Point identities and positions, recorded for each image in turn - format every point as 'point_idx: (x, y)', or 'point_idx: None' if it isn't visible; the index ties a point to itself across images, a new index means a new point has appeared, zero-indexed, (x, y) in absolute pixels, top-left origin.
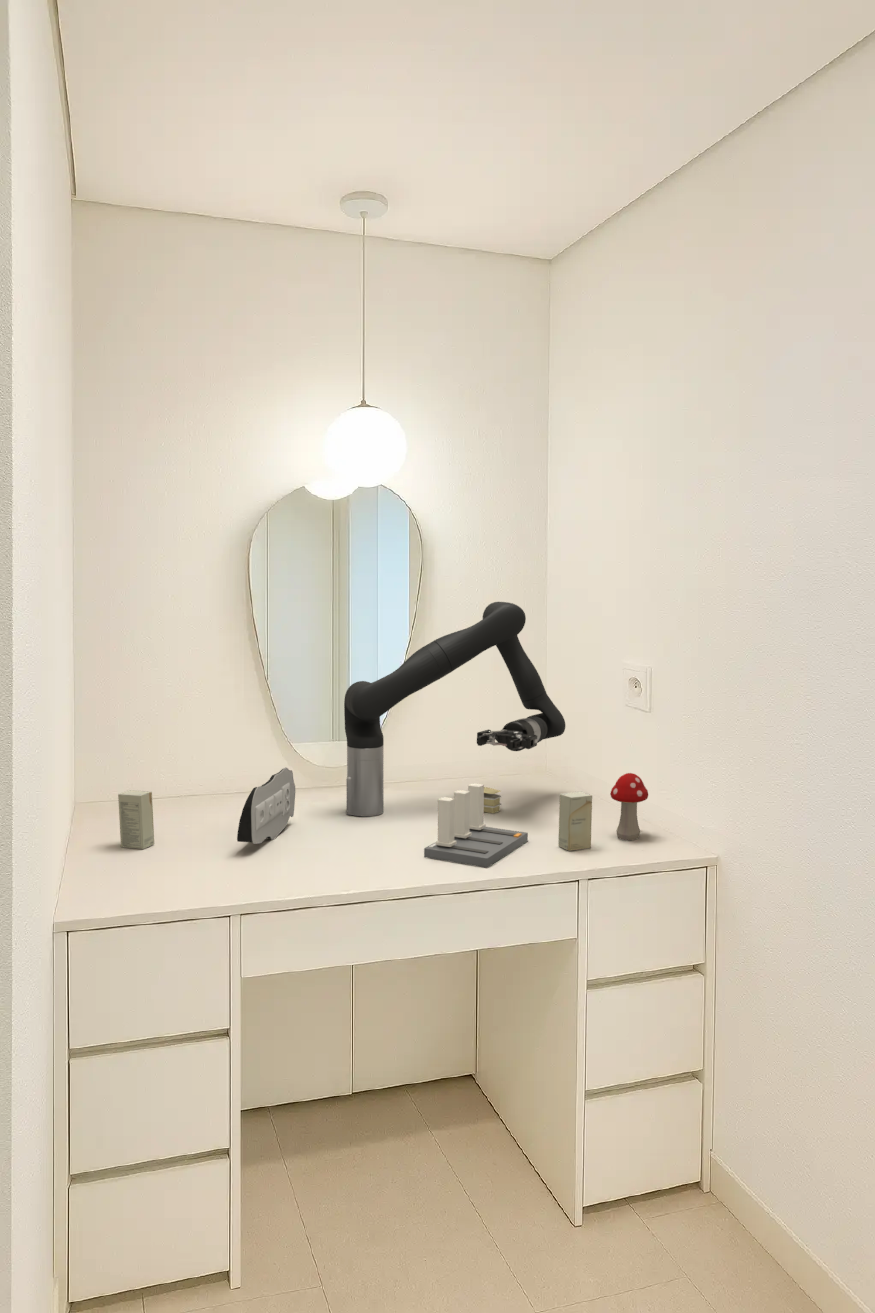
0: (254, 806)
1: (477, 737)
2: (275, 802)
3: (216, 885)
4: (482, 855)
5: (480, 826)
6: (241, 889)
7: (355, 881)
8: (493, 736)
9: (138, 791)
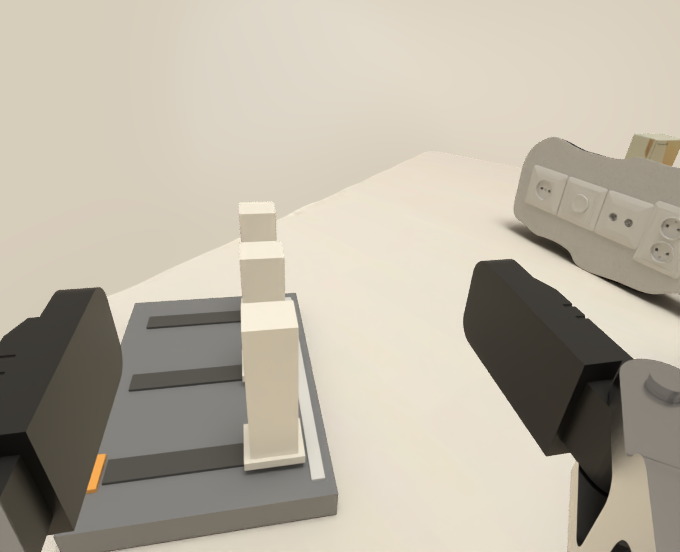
0: (532, 161)
1: (560, 294)
2: (606, 206)
3: (424, 188)
4: (152, 310)
5: (248, 435)
6: (394, 190)
7: (311, 227)
8: (607, 516)
9: (665, 138)
